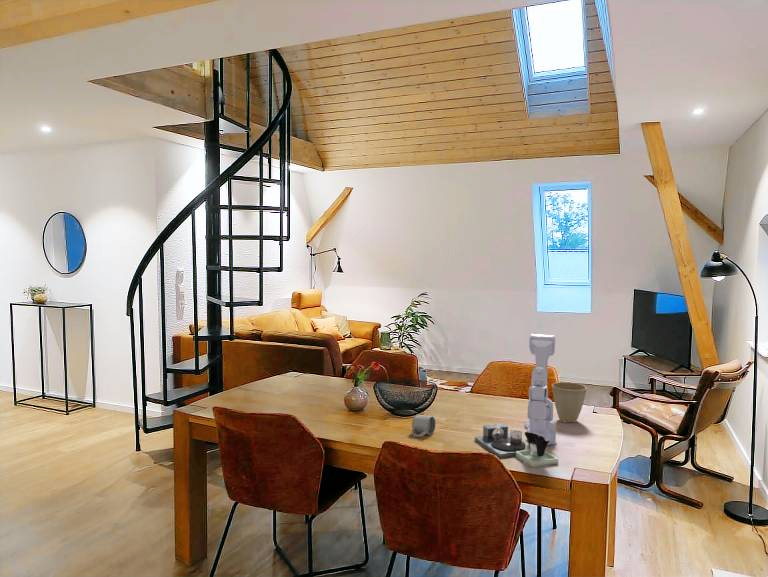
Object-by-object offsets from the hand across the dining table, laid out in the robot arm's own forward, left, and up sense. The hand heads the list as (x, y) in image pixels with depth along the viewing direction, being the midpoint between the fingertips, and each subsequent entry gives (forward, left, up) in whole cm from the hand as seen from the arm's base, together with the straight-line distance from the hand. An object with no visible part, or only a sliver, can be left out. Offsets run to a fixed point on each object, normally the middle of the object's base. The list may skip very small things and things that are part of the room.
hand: (536, 453), depth 212 cm
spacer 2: (0, 0, -1) cm, 1 cm away
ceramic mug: (+29, -40, -3) cm, 50 cm away
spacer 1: (+1, -13, 0) cm, 14 cm away
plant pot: (-41, -37, -3) cm, 55 cm away
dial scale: (+4, -16, -2) cm, 17 cm away
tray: (0, 0, -2) cm, 2 cm away
